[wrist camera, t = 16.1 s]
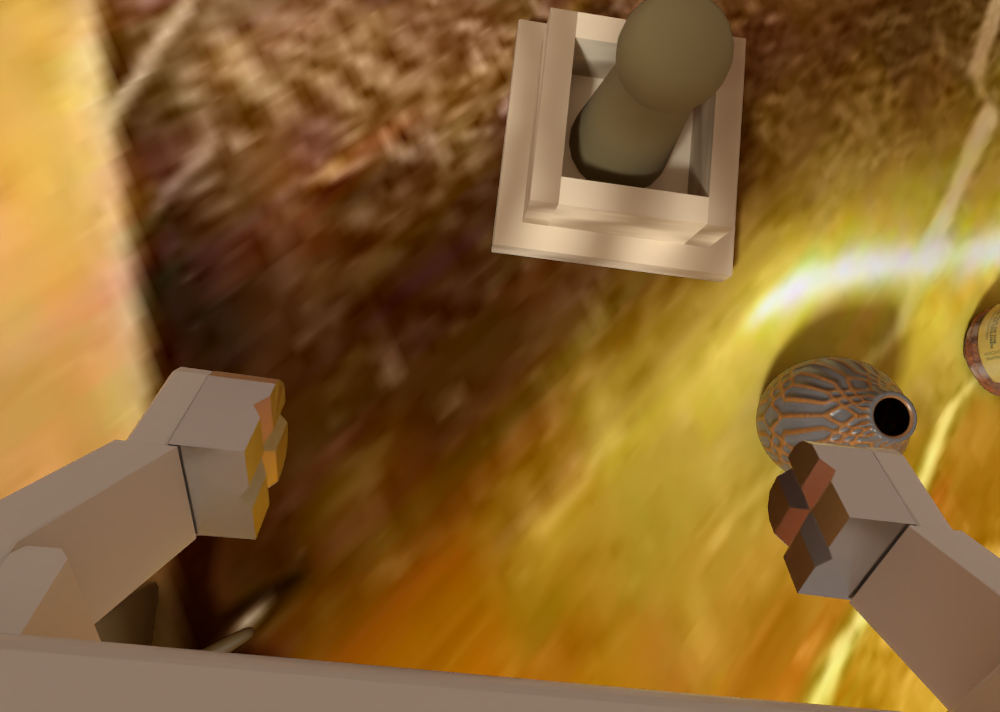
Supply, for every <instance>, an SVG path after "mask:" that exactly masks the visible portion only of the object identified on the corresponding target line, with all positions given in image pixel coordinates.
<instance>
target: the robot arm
mask: <svg viewBox="0 0 1000 712" xmlns="http://www.w3.org/2000/svg"><path fill="white" fill-rule="evenodd" d="M284 403H285V391H284V384H283V383H282V382H281V381H280V380H276V379H269V378H262V377H255V376H248V375H240V374H233V373H226V372H219V371H214V372H212V371H207V370H200V369H192V368H185V367H180V368H178V369H176V370H175V371H173V372H172V373H171V375H170V376H169V378H168V379H167V380H166V382H165V383H164V385H163V386H162V388H161V389H160V391H159V392H158V394H157V395H156V397H155V398H154V400H153V401H152V403H151V404H150V406H149V407H148V409H147V410H146V412H145V413H144V415H143V416H142V418H141V419H140V421H139V422H138V424H137V425H136V427H135V428H134V430H133V431H132V433H131V434H130V436H129V437H128V439H127V440H126V441H122V440H114V441H112V442H110V443H108V444H106V445H105V446H103V447H101V448H99V449H97V450H95V451H93V452H91V453H89V454H87V455H85V456H84V457H82V458H80V459H78V460H76V461H74V462H72V463H70V464H68V465H66V466H64V467H62V468H61V469H59V470H57V471H55V472H53V473H51V474H49V475H47V476H45V477H43V478H41V479H39V480H38V481H36V482H34V483H32V484H30V485H28V486H26V487H24V488H22V489H20V490H18V491H17V492H15V493H13V494H11V495H9V496H7V497H5V498H3V499H1V500H0V712H900V711H888V710H877V709H865V708H854V707H843V706H831V705H819V704H808V703H796V702H785V701H773V700H762V699H750V698H738V697H727V696H715V695H704V694H692V693H681V692H669V691H657V690H646V689H634V688H623V687H612V686H600V685H589V684H578V683H567V682H555V681H544V680H533V679H522V678H510V677H499V676H488V675H477V674H465V673H454V672H443V671H431V670H420V669H409V668H397V667H386V666H374V665H363V664H352V663H340V662H329V661H318V660H306V659H295V658H283V657H272V656H261V655H249V654H238V653H227V652H215V651H204V650H192V649H181V648H170V647H158V646H147V645H135V644H124V643H113V642H101V640H100V638H99V635H98V633H97V630H96V628H95V625H94V624H95V623H96V622H98V621H99V620H100V619H101V618H102V617H104V616H105V615H106V614H107V613H108V612H109V611H111V610H112V609H113V608H114V607H115V606H117V605H118V604H119V603H120V602H121V601H123V600H124V599H125V598H126V597H127V596H128V595H130V594H131V593H132V592H133V591H134V590H136V589H137V588H138V587H139V586H140V585H142V584H143V583H144V582H145V581H146V580H147V579H149V578H150V577H151V576H152V575H153V574H155V573H156V572H157V571H158V570H159V569H161V568H162V567H163V566H164V565H165V564H166V563H168V562H169V561H170V560H171V559H172V558H174V557H175V556H176V555H177V554H178V553H180V552H181V551H182V550H183V549H184V548H185V547H187V546H188V545H189V544H190V543H191V542H193V541H194V540H195V539H196V535H203V536H217V537H231V538H245V539H256V537H257V534H258V532H259V529H260V527H261V524H262V521H263V519H264V516H265V514H266V511H267V509H268V506H269V496H268V488H269V487H270V486H272V485H273V484H275V483H276V482H277V481H278V480H279V477H280V474H281V471H282V468H283V465H284V460H285V455H286V450H287V439H288V429H287V422H286V420H285V419H284V418H283V417H282V416H281V415H280V413H281V410H282V408H283V405H284ZM788 459H789V462H790V465H791V469H789V470H788V471H786V472H784V473H783V474H781V475H779V476H778V477H777V478H776V480H775V482H774V484H773V486H772V488H771V490H770V494H769V502H768V513H769V520H770V523H771V526H772V528H773V531H774V534H775V535H777V536H778V537H779V538H780V539H781V540H782V541H783V542H784V543H785V544H786V545H787V546H788V548H787V550H786V552H785V554H784V560H785V562H786V565H787V568H788V570H789V573H790V575H791V578H792V580H793V583H794V585H795V588H796V590H797V593H800V594H808V595H816V596H824V597H831V598H839V599H847V600H851V601H850V602H849V603H850V604H851V605H852V606H853V607H854V608H855V609H856V610H857V611H858V612H859V613H860V614H861V616H862V617H863V618H864V619H865V620H866V621H867V622H868V623H869V624H870V625H871V626H872V627H873V629H874V630H875V631H876V632H877V633H878V634H879V635H880V636H881V637H882V638H883V639H884V640H885V642H886V643H887V644H888V645H889V646H890V647H891V648H892V649H893V650H894V651H895V652H896V654H897V655H898V656H899V657H900V658H901V659H902V660H903V661H904V662H905V663H906V664H907V665H908V667H909V668H910V669H911V670H912V671H913V672H914V673H915V674H916V675H917V676H918V677H919V678H920V680H921V681H922V682H923V683H924V684H925V685H926V686H927V687H928V688H929V689H930V690H931V691H932V693H933V694H934V695H935V696H936V697H937V698H938V699H939V700H940V701H941V702H942V703H943V705H944V706H945V707H946V708H947V709H948V711H947V712H1000V558H999V557H997V556H996V555H994V554H993V553H992V552H990V551H989V550H987V549H986V548H985V547H983V546H982V545H981V544H979V543H978V542H976V541H975V540H974V539H972V538H971V537H969V536H968V535H967V534H965V533H964V532H962V531H957V530H952V529H951V527H950V526H949V524H948V523H947V521H946V520H945V518H944V517H943V515H942V513H941V512H940V510H939V509H938V507H937V506H936V504H935V503H934V501H933V500H932V498H931V497H930V495H929V494H928V492H927V491H926V489H925V488H924V486H923V485H922V483H921V482H920V480H919V478H918V477H917V475H916V474H915V472H914V471H913V469H912V468H911V466H910V465H909V463H908V462H907V460H906V459H905V457H904V456H903V455H902V454H901V453H899V452H898V451H896V450H895V449H885V448H875V447H858V446H850V445H840V444H831V443H822V442H813V441H803V440H802V441H801V442H799V443H798V444H797V445H795V446H794V448H793V450H792V451H791V453H790V455H789V456H788Z"/></svg>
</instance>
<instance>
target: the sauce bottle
mask: <svg viewBox="0 0 1000 712" xmlns="http://www.w3.org/2000/svg"><path fill="white" fill-rule="evenodd" d="M964 344H965V345H964V358H965V359H966V361H967V364H968V366H969V368H970V370H971V372H972V373H973V375H974V376H975V378H976V379H977V380H978V382H979V383H980V385H982V387H983V388H984V389H986V390H988V391H989V392H990V393H992V394H994V395H997V396H1000V303H998V304H997V305H996V306H994V307H991V308H988V309H987V310H985V311H984V312H982V313H980V314H979V315H978V316H976V317H975V318H974V320H973V322H972V323H971V325H970V327H969V329H968V331H967V335H966V339H965V341H964Z"/></svg>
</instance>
